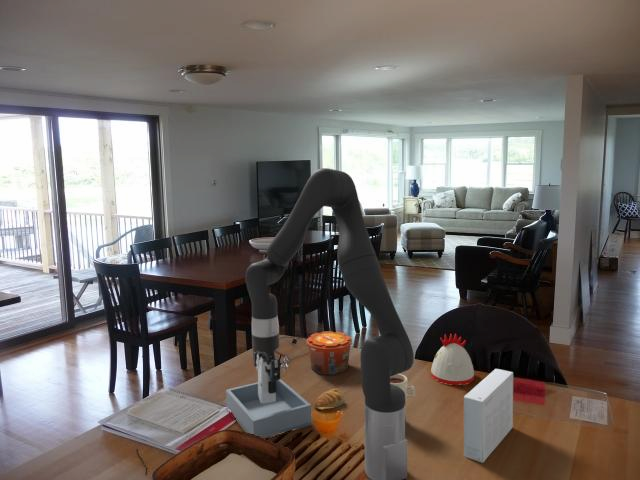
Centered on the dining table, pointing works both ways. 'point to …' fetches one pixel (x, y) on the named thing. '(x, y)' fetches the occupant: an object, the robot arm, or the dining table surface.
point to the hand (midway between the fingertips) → (267, 387)
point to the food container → (329, 352)
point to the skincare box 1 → (264, 384)
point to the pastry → (330, 399)
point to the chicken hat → (452, 363)
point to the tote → (268, 410)
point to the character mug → (402, 385)
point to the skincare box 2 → (488, 414)
